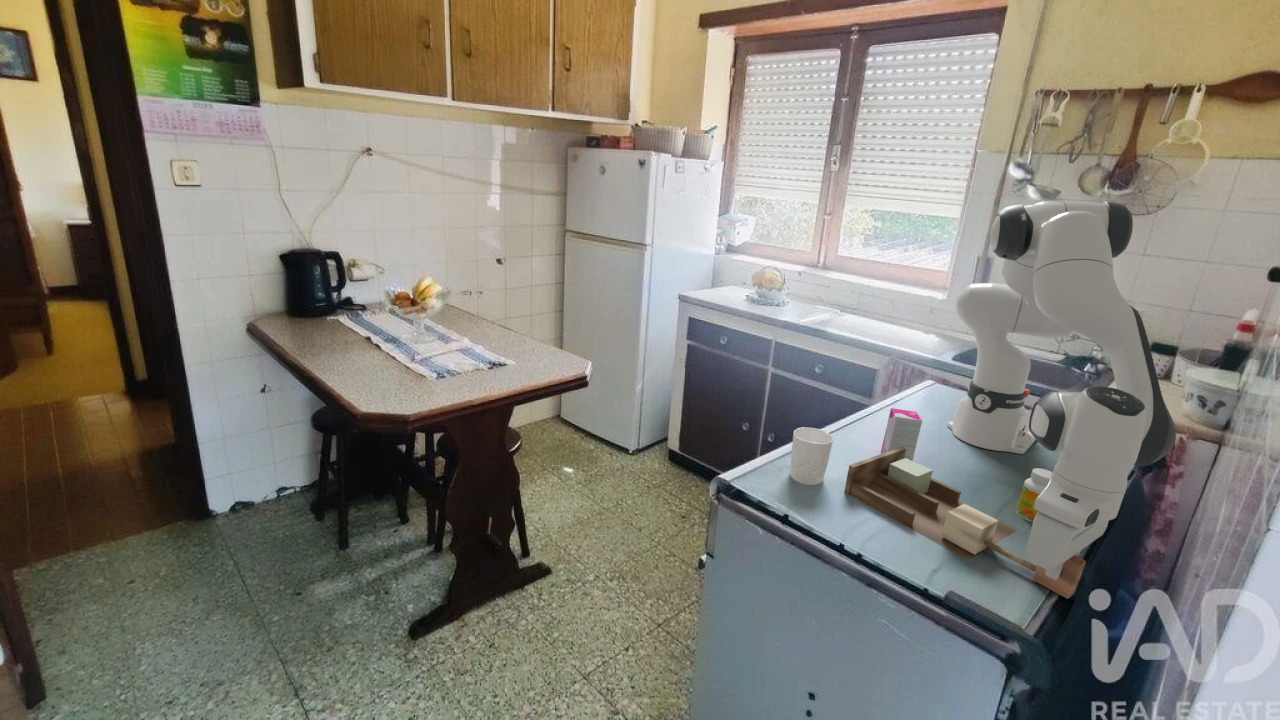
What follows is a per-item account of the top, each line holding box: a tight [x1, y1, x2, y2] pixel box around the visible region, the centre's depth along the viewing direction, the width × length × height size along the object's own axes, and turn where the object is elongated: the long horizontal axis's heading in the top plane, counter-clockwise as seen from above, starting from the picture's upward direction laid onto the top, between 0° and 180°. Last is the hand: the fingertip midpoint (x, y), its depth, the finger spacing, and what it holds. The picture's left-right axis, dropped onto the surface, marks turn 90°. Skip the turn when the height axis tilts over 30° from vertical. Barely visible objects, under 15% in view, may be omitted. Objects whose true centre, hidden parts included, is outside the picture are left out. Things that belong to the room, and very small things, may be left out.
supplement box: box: [880, 407, 923, 461], centre depth 134 cm, size 6×6×12 cm
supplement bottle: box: [1015, 467, 1053, 523], centre depth 114 cm, size 5×5×10 cm
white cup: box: [789, 426, 834, 486], centre depth 123 cm, size 8×8×10 cm
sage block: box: [888, 458, 934, 494], centre depth 121 cm, size 6×6×5 cm
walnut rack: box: [843, 447, 1018, 561], centre depth 114 cm, size 18×25×6 cm
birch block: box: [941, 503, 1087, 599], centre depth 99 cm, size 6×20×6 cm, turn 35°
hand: (1057, 572), depth 93 cm, fingers closed on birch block, 2 cm apart
